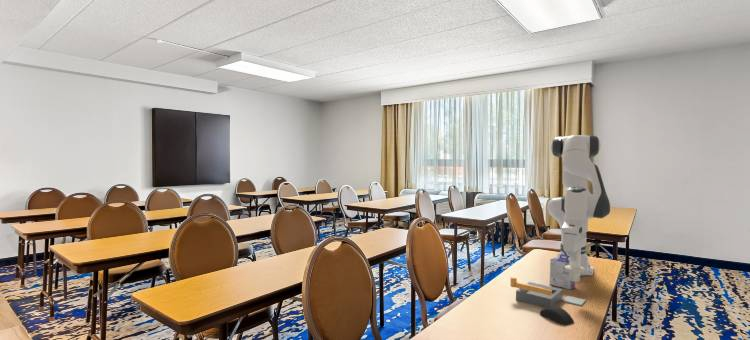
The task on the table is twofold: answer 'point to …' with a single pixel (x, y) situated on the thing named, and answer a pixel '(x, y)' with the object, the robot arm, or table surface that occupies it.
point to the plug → (575, 267)
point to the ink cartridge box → (560, 273)
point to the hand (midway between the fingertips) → (575, 259)
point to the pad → (574, 300)
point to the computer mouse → (557, 315)
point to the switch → (540, 296)
